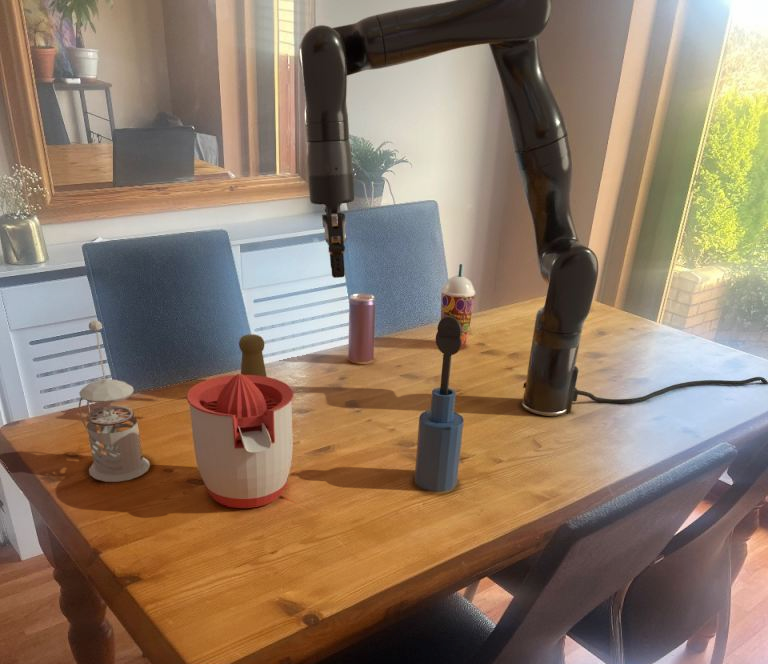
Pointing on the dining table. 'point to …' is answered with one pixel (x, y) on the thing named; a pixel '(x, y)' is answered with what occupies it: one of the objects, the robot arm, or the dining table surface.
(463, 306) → the smoothie
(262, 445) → the citrus juicer
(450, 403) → the bottle
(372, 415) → the dining table surface
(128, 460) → the french press
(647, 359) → the dining table surface
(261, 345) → the cork
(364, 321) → the beverage can
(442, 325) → the spoon
